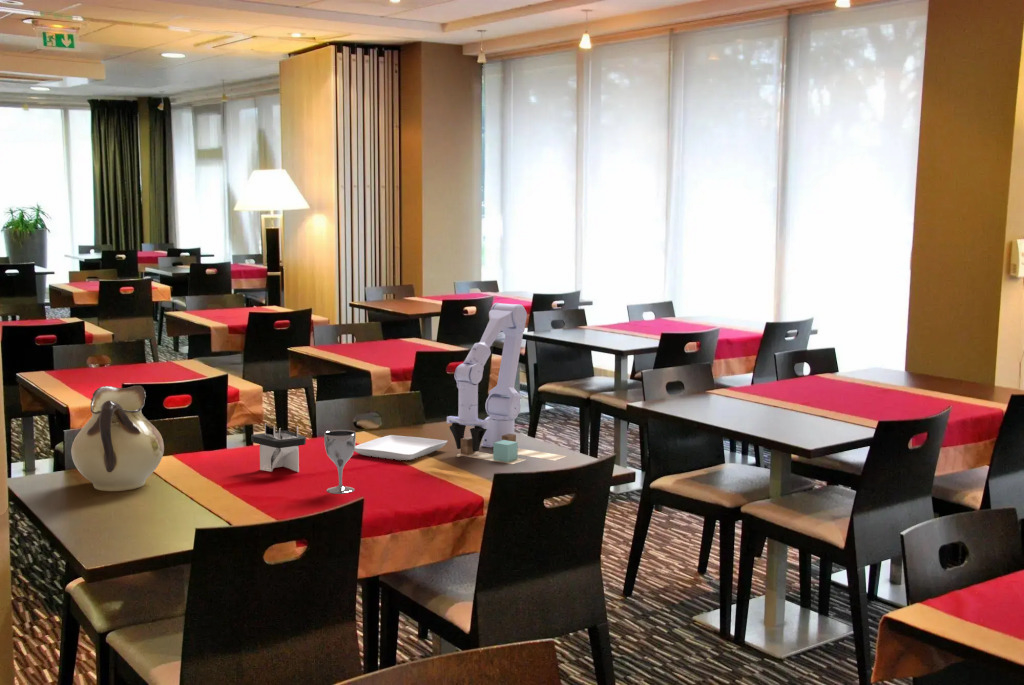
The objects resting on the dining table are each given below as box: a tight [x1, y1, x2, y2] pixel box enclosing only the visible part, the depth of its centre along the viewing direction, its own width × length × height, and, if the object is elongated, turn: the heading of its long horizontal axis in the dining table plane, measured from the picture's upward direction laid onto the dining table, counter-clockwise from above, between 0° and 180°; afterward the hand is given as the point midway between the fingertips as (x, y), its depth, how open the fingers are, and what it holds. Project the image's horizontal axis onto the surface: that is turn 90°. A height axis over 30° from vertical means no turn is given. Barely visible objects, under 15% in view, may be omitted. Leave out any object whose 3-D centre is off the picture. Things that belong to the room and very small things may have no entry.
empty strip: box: [502, 433, 568, 461], centre depth 312 cm, size 20×7×5 cm, turn 55°
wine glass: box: [323, 429, 357, 495], centre depth 271 cm, size 8×8×15 cm
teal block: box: [492, 440, 519, 462], centre depth 304 cm, size 5×5×5 cm
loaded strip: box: [456, 436, 527, 465], centre depth 307 cm, size 20×7×5 cm, turn 55°
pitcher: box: [70, 385, 165, 492], centre depth 272 cm, size 22×24×25 cm
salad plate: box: [354, 434, 448, 462], centre depth 315 cm, size 21×21×3 cm
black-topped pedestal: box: [250, 423, 307, 473], centre depth 291 cm, size 28×26×13 cm
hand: (467, 449), depth 312 cm, fingers open, 5 cm apart
